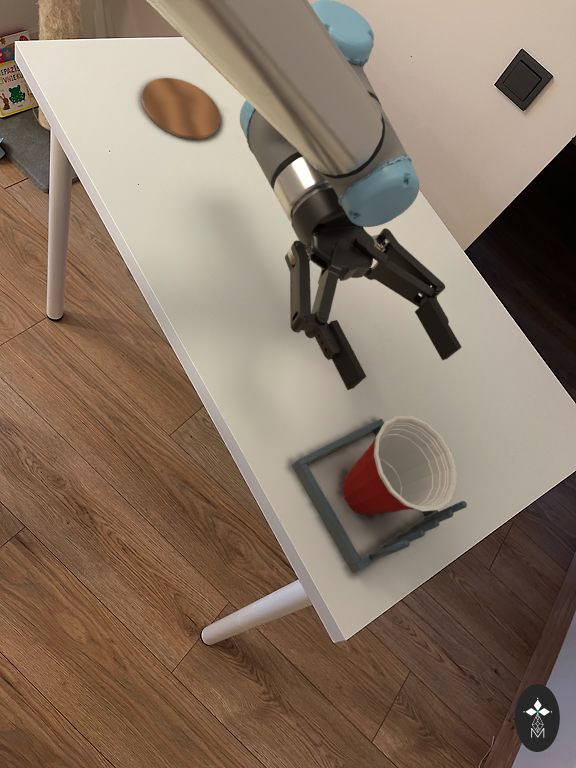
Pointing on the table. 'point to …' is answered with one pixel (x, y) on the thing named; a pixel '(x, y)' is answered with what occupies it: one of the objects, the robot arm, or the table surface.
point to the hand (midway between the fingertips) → (407, 368)
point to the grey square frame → (333, 523)
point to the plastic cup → (402, 470)
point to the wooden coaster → (180, 108)
